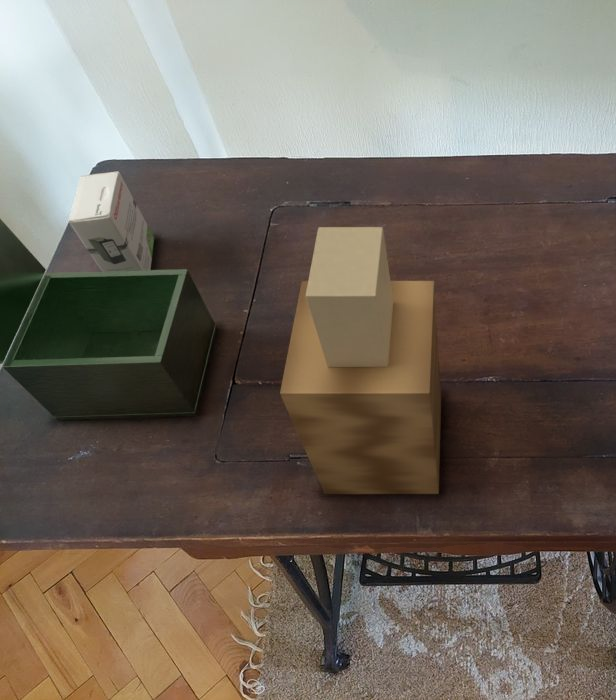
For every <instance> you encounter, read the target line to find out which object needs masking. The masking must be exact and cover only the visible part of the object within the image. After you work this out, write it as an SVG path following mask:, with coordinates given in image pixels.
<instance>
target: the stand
mask: <svg viewBox="0 0 616 700" xmlns="http://www.w3.org/2000/svg"><path fill="white" fill-rule="evenodd" d="M390 281H391V288H392V295H393V314H392V326H391V338H390V350H389V362H388V367H327V364H326V360H325V357H324V354H323V351H322V347H321V344H320V341H319V338H318V335H317V331H316V328H315V325H314V322H313V319H312V315H311V312H310V309H309V306H308V302H307V299H306V291H307V285H308V280H302V281H301V283H300V288H299V293H298V297H297V298H298V299H297V303H296V309H295V314H294V319H293V324H292V328H291V329H292V330H291V334H290V340H289V344H288V350H287V356H286V360H285V365H284V369H283V370H284V371H283V376H282V380H281V385H280V391H279V394H280V395H279V396H280V397H281V399H282V402H283V404H284V406H285V408H286V411H287V412H288V415H289V417H290V419H291V422H292V424H293V426H294V429H295V431H296V433H297V436H298V438H299V440H300V442H301V445H302V447H303V449H304V451H305V453H306V456H307V458H308V460H309V463H310V465H311V467H312V469H313V471H314V473H315V476H316V478H317V481H318V483H319V485H320V487H321V489H322V492H323V494H324V495H439V493H440V463H441V462H440V457H441V420H442V419H441V418H442V388H441V387H442V386H441V373H440V371H441V370H440V356H439V340H438V324H437V323H438V322H437V307H436V290H435V281H434V280H390Z"/></svg>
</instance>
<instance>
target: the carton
mask: <svg viewBox="0 0 616 700" xmlns="http://www.w3.org/2000/svg"><path fill="white" fill-rule="evenodd" d="M312 253H313V255H312V258H311V264H310V270H309V275H308V280H307V281H308V285H307V291H306V299H307V302H308V306H309V309H310V312H311V315H312V319H313V322H314V325H315V328H316V331H317V335H318V338H319V341H320V344H321V347H322V351H323V354H324V357H325V360H326V364H327V367H388V362H389V350H390V338H391V326H392V314H393V295H392V288H391V281H392V280H391V276H390V267H389V262H388V261H389V260H388V254H387V247H386V240H385V232H384V227H383V226H353V227H352V226H328V227H327V226H319V227H318V228H317V232H316V237H315V242H314V248H313V252H312Z"/></svg>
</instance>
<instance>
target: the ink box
mask: <svg viewBox="0 0 616 700" xmlns="http://www.w3.org/2000/svg"><path fill="white" fill-rule="evenodd" d="M78 179H79V180H78V183H77V187H76V192H75V194H74V199H73V203H72V206H71V210H70V214H69V217H68V221H67V222H68V224H69V225H70V227H71V228H72V229H73V231H74V232H75V234H76V236H77V237H78V239H79V240H80V241H81V243H82V244H83V246H84V247H85V249H86V250H87V252H88V253H89V255H90V256H91V258H92V260H93V261H94V262H95V264H96V265H97V267H98V268H99V269H100V272H101V271H138V270H152V261H153V253H154V245H155V236H154V234H153V233H152V231H151V229H150V227H149V225H148V223H147V221H146V219H145V217H144V215H143V213H142V212H141V210H140V208H139V206H138V205H137V202H136V201H135V199H134V197H133V195H132V192H131V191H130V189H129V187H128V186H127V184H126V182H125V179H124V178H123V176H122V174H121V172H120V171H119V170H118V171H117V170H116V171H109V172H101V173H92V174H85V175H80V176H79V178H78Z"/></svg>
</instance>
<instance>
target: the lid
mask: <svg viewBox="0 0 616 700" xmlns="http://www.w3.org/2000/svg"><path fill="white" fill-rule="evenodd" d="M46 271H47V268H46V267H45V266H43V264H41V262H40V261H39V260H38V259H37V258H36V256H34V254H33V253H32V252H31V251H30V250H29V248H27V247H26V246H25V244H24V243H23V242H22V241H21V240H20V239H19V237H17V235H16V234H15V233H14V232H13V231H12V230H11V228H10V227H9V226H8V225H7V224H6V223H5V222H4V221H3V219H2V218H0V365H3V364H4V362H5V359H6V357H7V355H8V353H9V351H10V349H11V346H12V344H13V342H14V340H15V338H16V336H17V333H18V331H19V329H20V327H21V325H22V323H23V320H24V318H25V316H26V314H27V312H28V310H29V307H30V305H31V303H32V301H33V299H34V297H35V294H36V292H37V290H38V288H39V286H40V283H41V281H42V279H43V277H44V275H45V273H46Z"/></svg>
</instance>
